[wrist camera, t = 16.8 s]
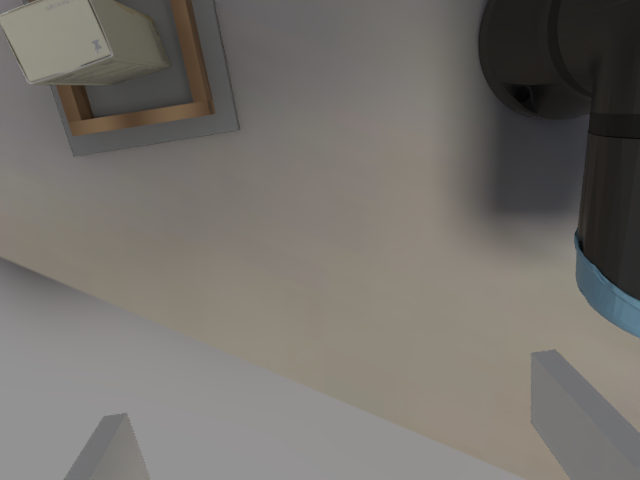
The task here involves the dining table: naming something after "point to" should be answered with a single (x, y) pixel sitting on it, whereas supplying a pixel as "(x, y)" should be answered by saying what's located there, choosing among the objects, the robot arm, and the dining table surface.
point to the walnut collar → (203, 105)
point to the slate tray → (162, 87)
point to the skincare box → (82, 42)
